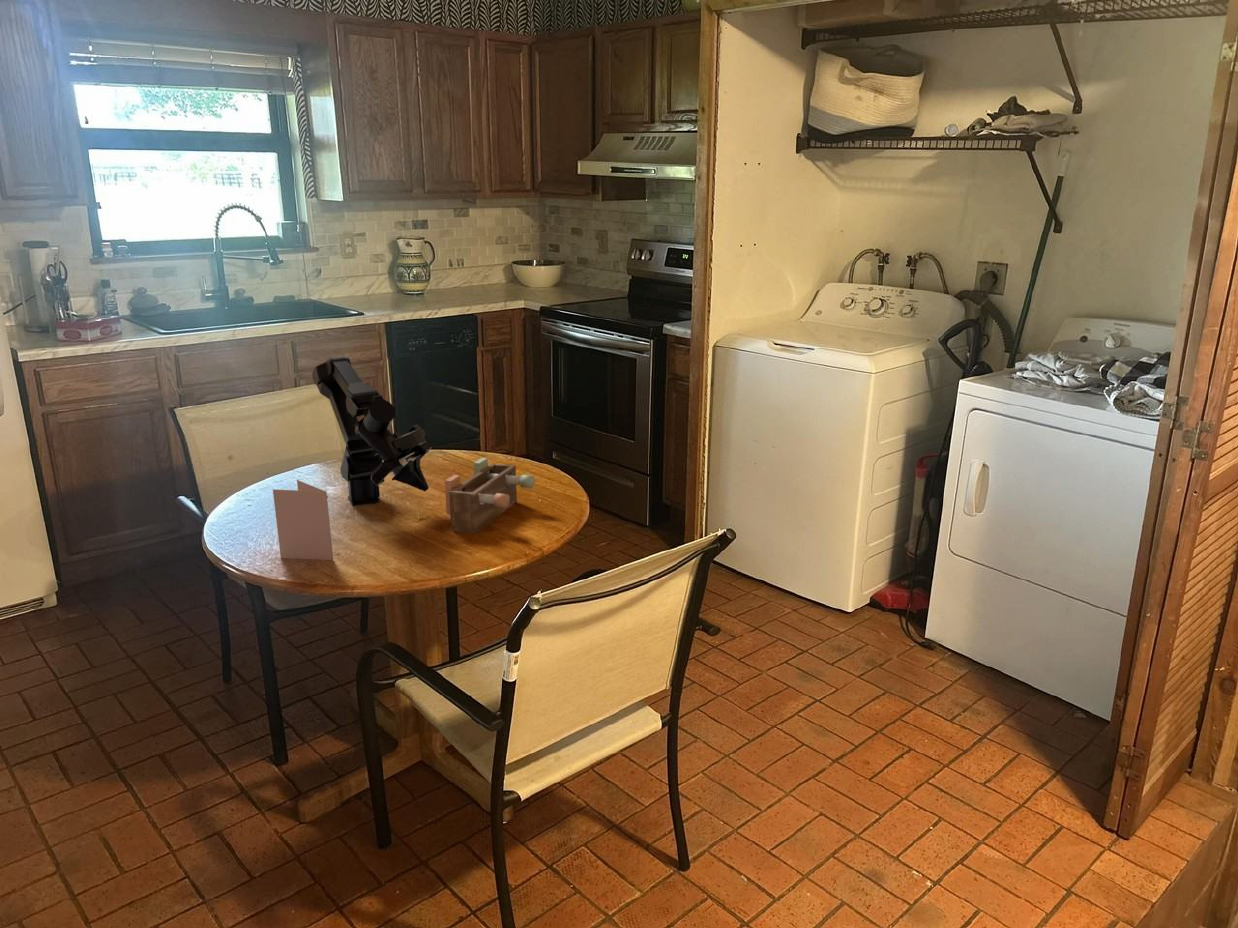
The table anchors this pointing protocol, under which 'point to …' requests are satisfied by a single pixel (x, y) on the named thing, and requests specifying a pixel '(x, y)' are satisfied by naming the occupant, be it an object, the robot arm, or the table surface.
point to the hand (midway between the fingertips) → (426, 489)
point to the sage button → (523, 480)
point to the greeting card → (303, 523)
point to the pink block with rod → (496, 499)
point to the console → (466, 504)
